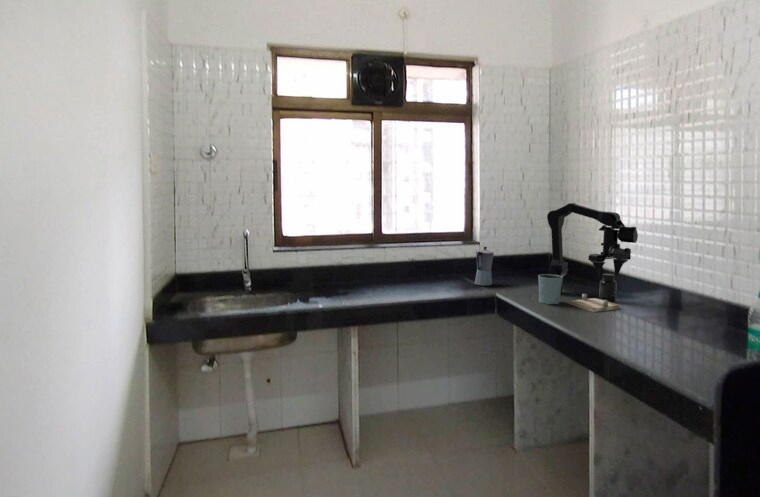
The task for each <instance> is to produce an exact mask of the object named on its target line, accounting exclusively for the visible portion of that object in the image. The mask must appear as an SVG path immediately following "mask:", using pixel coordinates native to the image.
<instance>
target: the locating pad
mask: <svg viewBox="0 0 760 497" xmlns="http://www.w3.org/2000/svg"><path fill="white" fill-rule="evenodd" d="M569 305H571V306H574V307H577V308H580V309H584V310H585V311H590V312H593V313H596V312H605V311H612V310H613V311H614V310H619V309H620V310H621V305H620V304H618V303H615V302H608V300H601V299H599V298H596V297H593V298H588V294H587V293H582V294H581V299H574V300H573V299H572V300H569Z"/></svg>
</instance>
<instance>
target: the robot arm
mask: <svg viewBox="0 0 760 497" xmlns="http://www.w3.org/2000/svg"><path fill="white" fill-rule="evenodd" d="M572 213H573V214H576V215H579V216H583V217H587V218H590V219H593V220H596V221H597V222H599V223H600V224H603V225H601V227H599V229H598V230H599V231H601V232H603V237H602V238H603V240H602V241H603V242H601V243H600V246H602V251H600V254H599V253H590V254H589V255H588V261H590V263H592V265H593V266H594V269H595V270H596V273H597V275H598V277H600V278H602V277H603V269H604V268H603V267H604V265H605V264H606V262H605V261H606V260H612V261H613V268H614V275H615V276H619V273H620V272H621V269H622V267H623V265H624V264H625V263H626V262H628V261H630V260H631V259H632V258H631V257H632V256H631V253H632V251H631V250H632V249H631V248H629V247H625V248H621V243H631V244H636V243H637V242H638V238H639V237H638V236H639V234H638V230H637V227H636V226H625V224H624V222H622V220H621V216H620V214H619V213H617V212H614V211H602V210H597V209H593V208H591V207H588V206H587V207H586V206H584V205H581V204H578V203H575V202H570V203H567V204H566V205H564V206H562V207H560V208H558V209H555V210H550V211H549V212H548V213H547V216H546V219H547V223H548V226H549V228H550V230H551V250H552V251H551V253H552V254H551V255H552V260H551V262H550V266H549V272H548V273H547V274H553V275H560V276H562V277H563V278H564V276H566V275H567V273H568V271H569V268H568V264H569V263H568V261H566V262H565V260H564V254H563V253H564V252H563V250H564V249H563V230H562V229H563V226H564V223H565V218H566V217H568V216H569V215H570V214H572ZM618 241H620V242H621V243H618ZM562 292H563V285H562V286H561V293H560V295H562Z"/></svg>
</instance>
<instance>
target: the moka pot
mask: <svg viewBox="0 0 760 497" xmlns="http://www.w3.org/2000/svg"><path fill="white" fill-rule="evenodd" d="M487 248H488V247H487V246H483V249H481V250H476V253H475V256H476V269H477V270H476V274H475V279H474V284H475V285H477V286H482V287H483V286H487V287H488V286H492V285H493V280H492V279H493V278H492V266H493V259H494V251H491V250H487Z"/></svg>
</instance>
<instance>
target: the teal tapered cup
mask: <svg viewBox="0 0 760 497" xmlns="http://www.w3.org/2000/svg"><path fill="white" fill-rule="evenodd" d="M537 277H538V278H537V279H538V303H539V302H541V303H546V304H557V305H559V304H560V301H561V294H562V292H561V286H562V287H563V279H564V276H563V277H562V276H560V275H553V274H548V273H541V274H538V275H537ZM560 293H561V294H560ZM541 303H540V304H541ZM546 304H545V305H546Z"/></svg>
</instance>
